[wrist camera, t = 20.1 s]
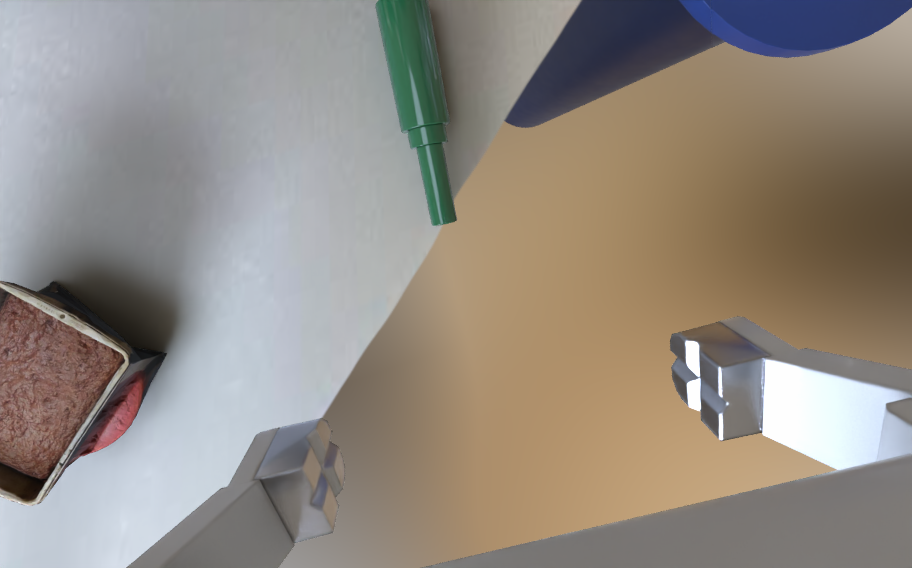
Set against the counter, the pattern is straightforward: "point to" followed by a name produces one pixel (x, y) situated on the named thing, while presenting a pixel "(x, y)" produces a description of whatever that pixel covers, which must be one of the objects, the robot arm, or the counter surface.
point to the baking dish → (61, 387)
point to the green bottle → (419, 95)
